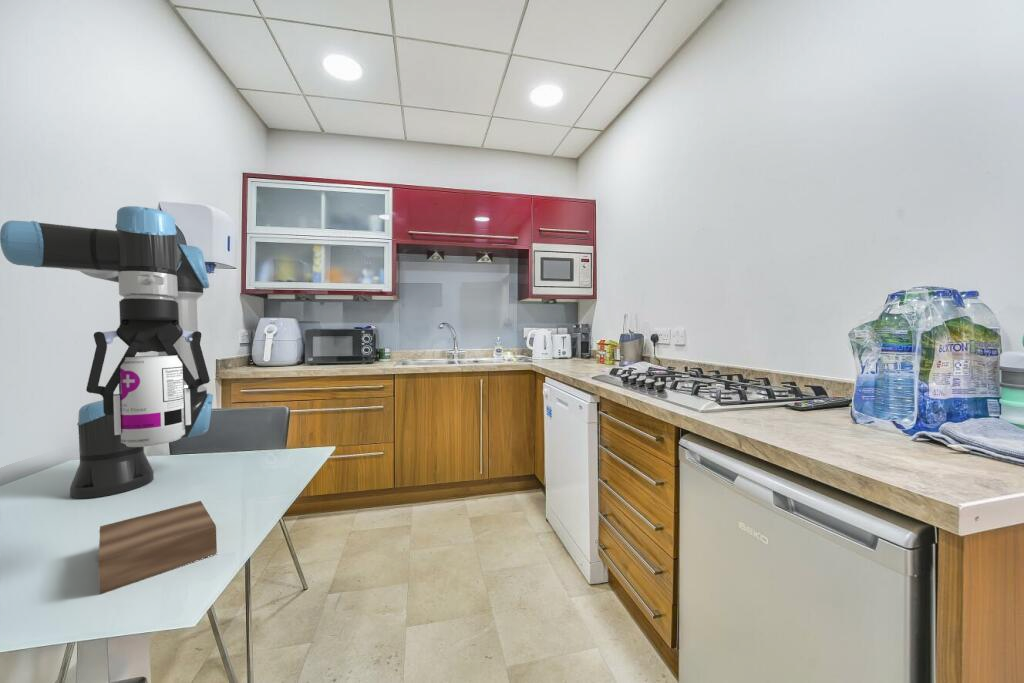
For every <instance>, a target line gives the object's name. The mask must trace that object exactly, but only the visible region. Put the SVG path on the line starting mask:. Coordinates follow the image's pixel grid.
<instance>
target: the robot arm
mask: <svg viewBox="0 0 1024 683" xmlns="http://www.w3.org/2000/svg"><path fill="white" fill-rule="evenodd" d="M115 229H116V230H112V229H103V228H90V227H81V226H74V225H63V224H55V223H47V222H46V223H45V222H38V221H34V220H31V221H25V220H24V221H23V220H8V221H6V222H4V223H2V226H1V227H0V248H1V251H2V254H3V256H4V257H5V259H6V260H7V261H8V262H9V263H10V264H13V265H16V266H25V267H34V268H50V269H51V268H52V269H62V270H71V271H76V272H77V271H78V272H81V273H82V274H84V275H86V276H88V277H90V278H95V279H100V280H105V281H109V282H114V283H118V294H119V296H120V297H123V298H122V299H120V301H119V304H118V305H119V325H118V327H117V329H116V330H110V331H104V332H102V331H96V332H94V334H93V338H94V343H95V346H96V348H95V350H94V351H95V352H94V355H93V358H92V359H93V360H92V364H91V368H90V372H89V375H88V380H87V383H86V388H85V389H86V392H87V393H89V394H96V395H100V396H101V397H102V400H98V401H93V402H90V403H87V404H85V405H83V406H81V407H80V409H79V410H78V422H77V423H76V426H77V427H78V445H79V446H78V448H79V450H78V451H79V465H78V467H77V470H76V472H75V474H74V477H73V480H72V482H71V484H70V487H69V490H70V492H69V493H70V494H69V495H70V498H72V497H73V499H93V498H102V497H105V496H110V495H111V496H112V495H116V494H121V493H125V492H129V491H132V490H135V489H138V488H140V487H143V486H146V485H148V484H150V483H152V481H154V478H155V476H154V475H155V474H154V470H153V468H152V465H151V463H150V461H149V460H148V458H147V456H146V454H145V449H144V448H145V447H128V446H126V444H123V443H121V414H120V395H119V393H114V392H115V391H116V389H117V387H119V382H120V381H121V371H120V367H121V365H122V364H123V362H124V361H125V357H136V356H137V354H138V353H149V352H155V353H157V354H158V355H157V356H163V355H168V356H175V355H177V356H178V358H179V360H180V361H181V362H182V367H183V383H184V416H185V434H184V435H183V436H181V439H185V438H186V439H188V438H190V437H197V436H202V435H204V434H206V433H207V432H208V431H209V429H210V423H211V422H210V421H211V415H212V408H213V400H214V394H212V393H208V390H207V387H206V386H205V385H206V384H209V383H210V381H211V379H210V375H209V372H208V368H207V365H206V361H205V357H204V354H203V350H202V347H201V339H202V332H200V331H199V330H198V329H199V327H198V326H199V325H198V299H200V298H201V297H202V296H203V295H204V289H205V290H206V289H209V288H210V283H209V278H208V272H207V268H206V267H207V266H206V262H205V257H204V253H203V250H202V249H200V247H197V246H193V245H187V244H182V243H177V233H178V231H177V229H176V221H175V218H174V216H172V215H171V214H170V213H168V212H166V211H163V210H160V209H156V208H151V207H144V206H133V205H129V206H122V207H120V208H119V209H118V210H117V212H116V223H115ZM117 337H118V338H119V339H120V340H121V341H122V342H123V343H124V344H126V345H127V346H128V348H127V349H126V350H125V352H124V354H123V356H122V357H121V360H120V361H119V362H118V365H117V366H116V368H115V370H114V372H113V373H112V374H111V377H110V378H109V380H108V381H107V383H106V385H105V386H104V385H103V386H102V385H99V384H100V380H101V375H102V371H103V367H104V363H105V358H106V355H107V350H108V345H111V344H112V343H113V342H114V339H115V338H117Z"/></svg>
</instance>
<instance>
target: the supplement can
mask: <svg viewBox="0 0 1024 683" xmlns="http://www.w3.org/2000/svg"><path fill="white" fill-rule="evenodd" d="M120 371H121V381H120V382H119V384H118V391H119V392H118V394H119V395H120V414H121V443H123V444H126V446H128V447H144V448H145V447H151V446H152V447H154V446H158V445H163V444H169V443H172V442H175V441H178V440H180V439H182V438H181V436H183V435H184V434H185V416H184V383H183V367H182V362H181V361H180V360H179V358H178V356H177V355H175V356H168V355H163V356H158V355H143V356H139V355H138V356H137V355H136V356H135V357H125V361H124V362H123V364H122V365H121V367H120Z"/></svg>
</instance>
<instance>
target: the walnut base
mask: <svg viewBox="0 0 1024 683" xmlns="http://www.w3.org/2000/svg"><path fill="white" fill-rule="evenodd" d="M217 549H218V548H217V525H216V523H215V522H214V520H213V518H212V517H211V515H210V513H209V512H208V510H207V508H206V507H205V506H204V504H203V502H202V500H198V501H194V502H190V503H186V504H182V505H179V506H175V507H171V508H167V509H162V510H158V511H155V512H152V513H148V514H144V515H140V516H135V517H132V518H127V519H123V520H121V521H115V522H112V523H107V524H103V525H100V526H99V543H98V581H99V582H98V584H99V595H102V594H105V593H107V592H112V591H114V590H117V589H120V588H122V587H125V586H128V585H131V584H134V583H137V582H140V581H143V580H146V579H149V578H151V577H155V576H158V575H161V574H163V573H166V572H169V571H172V570H174V568H175V569H178V568H180V566H181V567H184V566H186V565H185V564H187V565H189V564H188V563H190V564H192V563H191V562H193V563H195V562H194V561H196V560H199V559H202V558H205V557H208V556H210V557H212V556H211V555H213V556H215V555H214V554H216V553H217V554H218V550H217ZM217 554H216V555H217ZM208 558H209V557H208ZM205 559H206V558H205ZM202 560H203V559H202ZM199 561H200V560H199ZM196 562H197V561H196ZM183 565H184V566H183ZM177 567H178V568H177Z"/></svg>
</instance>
